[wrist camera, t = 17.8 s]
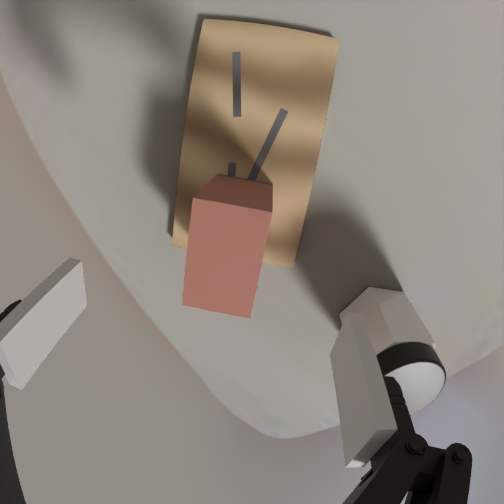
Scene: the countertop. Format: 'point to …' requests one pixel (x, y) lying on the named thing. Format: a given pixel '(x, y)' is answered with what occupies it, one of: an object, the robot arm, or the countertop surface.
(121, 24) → the countertop surface
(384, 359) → the jar
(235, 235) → the block
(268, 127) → the board
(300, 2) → the countertop surface
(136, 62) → the countertop surface
